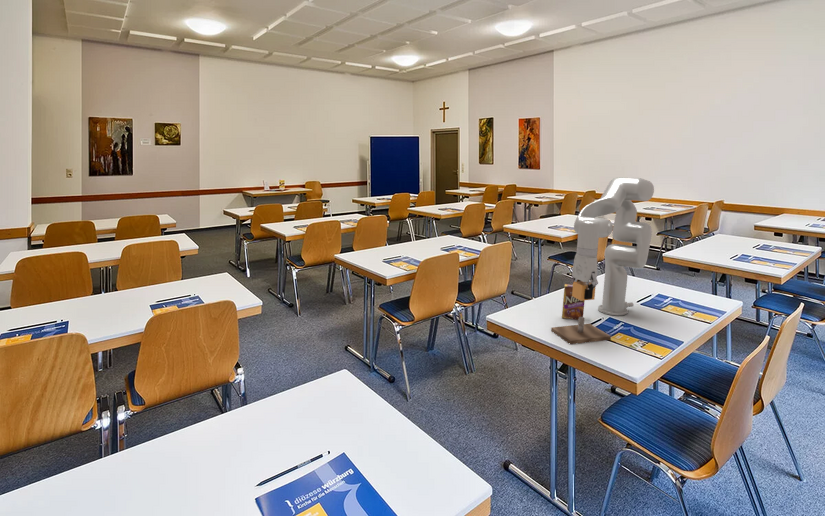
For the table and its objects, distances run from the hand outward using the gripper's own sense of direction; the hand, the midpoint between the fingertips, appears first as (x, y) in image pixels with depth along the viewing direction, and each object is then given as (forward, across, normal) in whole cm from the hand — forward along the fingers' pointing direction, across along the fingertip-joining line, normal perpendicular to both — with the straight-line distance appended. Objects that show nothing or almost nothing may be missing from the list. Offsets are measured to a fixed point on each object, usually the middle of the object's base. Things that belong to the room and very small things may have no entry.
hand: (583, 295), depth 182 cm
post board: (+17, 0, 0) cm, 17 cm away
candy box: (+17, -18, +8) cm, 26 cm away
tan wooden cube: (+1, 0, 0) cm, 1 cm away
